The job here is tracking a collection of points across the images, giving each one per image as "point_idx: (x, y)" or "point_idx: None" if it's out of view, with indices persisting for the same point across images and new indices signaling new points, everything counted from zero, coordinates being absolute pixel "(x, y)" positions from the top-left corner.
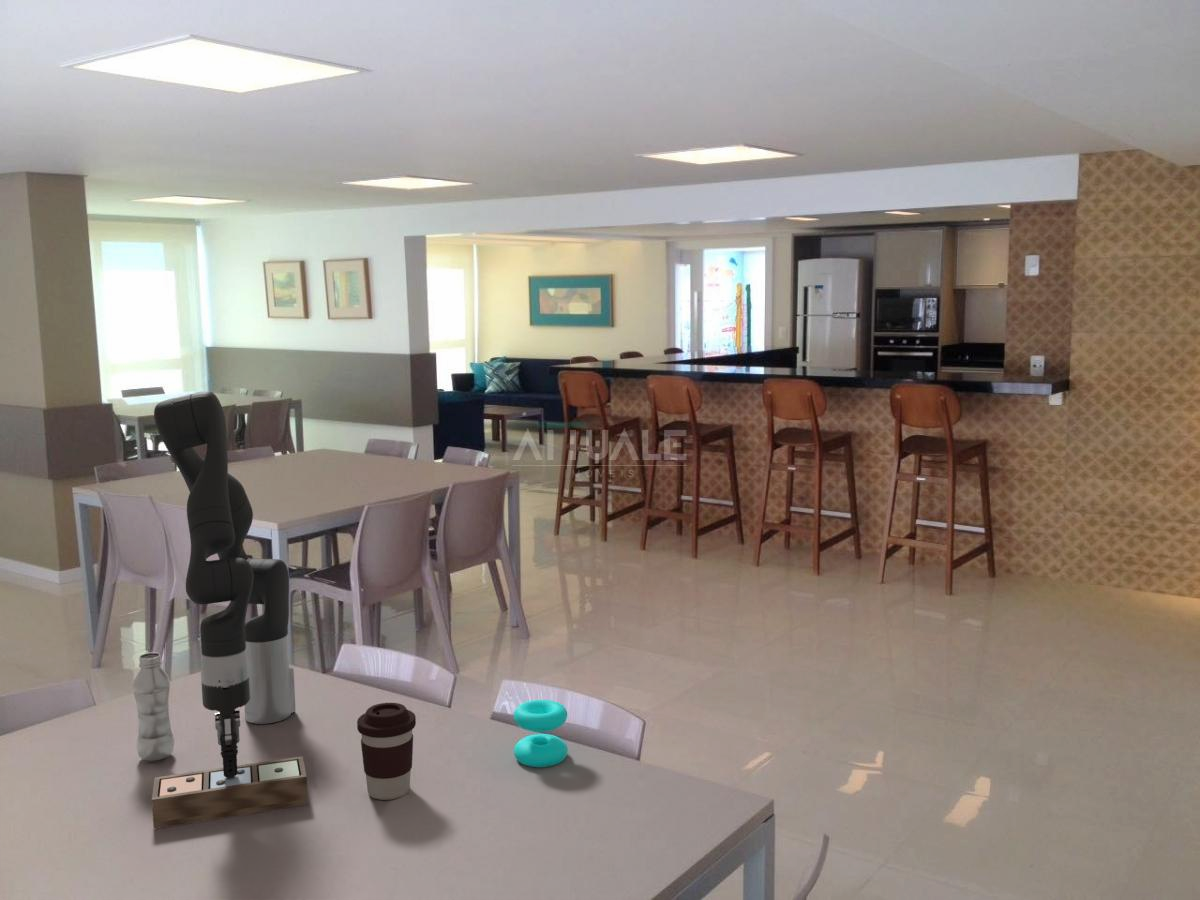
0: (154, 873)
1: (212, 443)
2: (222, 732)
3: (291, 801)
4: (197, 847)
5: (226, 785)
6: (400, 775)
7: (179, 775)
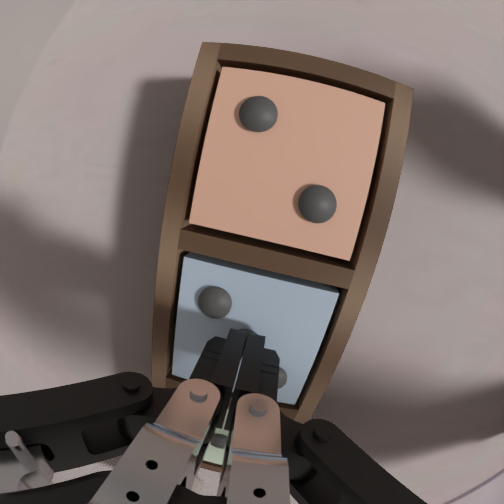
0: (48, 95)
1: None
2: (52, 485)
3: None
4: (84, 173)
5: (184, 312)
6: None
7: (385, 174)
